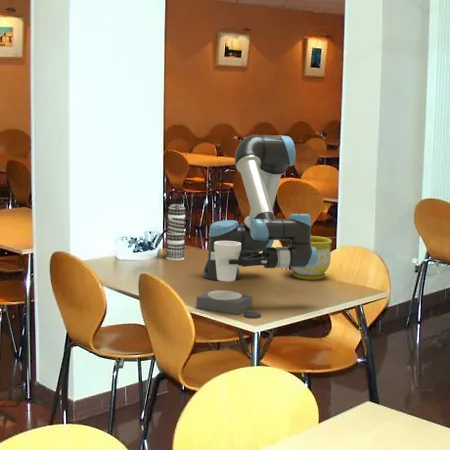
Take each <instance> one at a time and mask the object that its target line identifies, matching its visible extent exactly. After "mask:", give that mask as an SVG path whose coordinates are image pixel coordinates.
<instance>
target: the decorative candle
mask: <svg viewBox="0 0 450 450" xmlns="http://www.w3.org/2000/svg"><path fill="white" fill-rule="evenodd" d="M167 208H168V212H167V213H168V214H167V219H166V225H167V226H166V234H167V241H166V243H165V246H166V247H165V249H166V251H165V253H166V254H165V258H166V260H169V261H184V260H185V253H186V251H185V249H186V247H185V245H186V244H185V234H186V231H185V230H186V229H187V228H186V225H187V224H186V223H185V222H187V219H186V218H187V216H186V207H185V206H184V204H179V203H173V204H170V205H169V206H168V207H167Z"/></svg>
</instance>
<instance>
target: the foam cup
mask: <svg viewBox="0 0 450 450" xmlns="http://www.w3.org/2000/svg"><path fill="white" fill-rule="evenodd" d="M214 250H215V260H216V272H217V279H218V280H217V281H220V282H235V281H236V280H235V278H236V273H237V267H238V268H239V265H238V264H237V265H230V266H219V258H222V257H238V256H240V251H241V243H240V242H235V241H216V242H214Z"/></svg>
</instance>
